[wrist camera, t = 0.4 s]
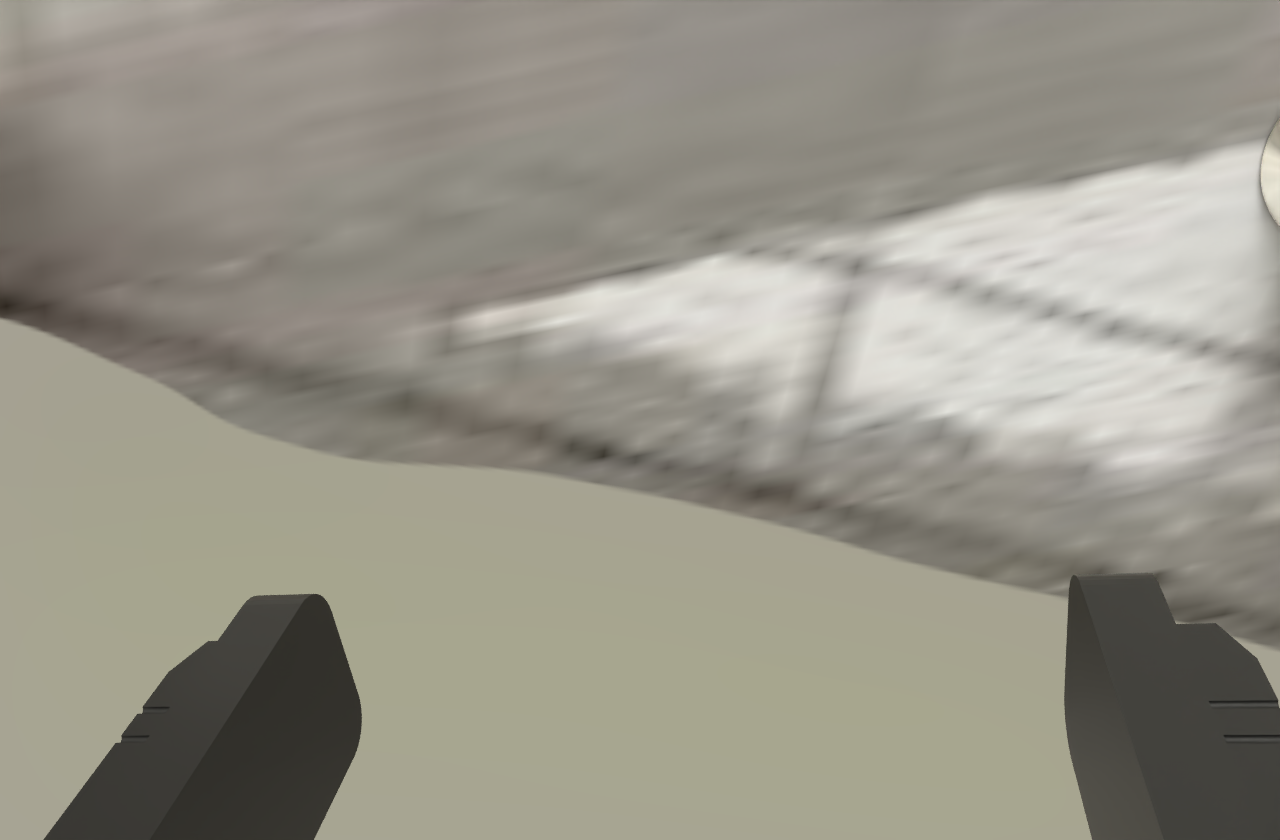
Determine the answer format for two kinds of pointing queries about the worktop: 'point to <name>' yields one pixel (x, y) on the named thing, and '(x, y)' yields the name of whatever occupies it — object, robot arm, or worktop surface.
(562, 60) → the worktop surface
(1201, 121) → the worktop surface
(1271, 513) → the worktop surface
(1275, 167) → the beer glass
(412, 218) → the worktop surface
